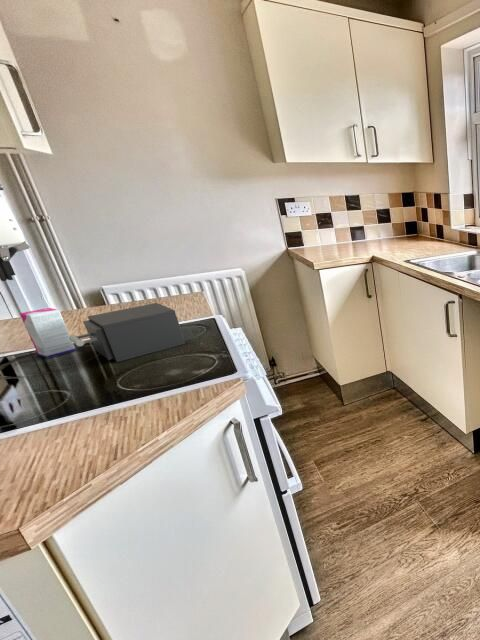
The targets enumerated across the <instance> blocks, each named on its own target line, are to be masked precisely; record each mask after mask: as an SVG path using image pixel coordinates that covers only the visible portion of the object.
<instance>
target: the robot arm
mask: <svg viewBox="0 0 480 640" xmlns="http://www.w3.org/2000/svg"><path fill="white" fill-rule="evenodd" d="M0 191H4V187H3V185H2V183H0ZM30 248H31V246H30V245H29V243H28V242H27V241H26V239H25V237H24V234H23V232H22V229H21V228H20V225H19V224H18V221H17V220H16V218H15V215H14V214H13V212H12V211H11V209H10V207H9V206H8V205H7V203H6V201H5V200H4V198H3V197H2V196H0V281H1V282H6V281H14V278H13V276H16V272H15V269H14V268H13V266H12V264H11V262H10V261H11V260H12V258H13V257H14V256H15V254H17V253H18V252H22V251H26V250H29V249H30Z"/></svg>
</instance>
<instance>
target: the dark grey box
mask: <svg viewBox="0 0 480 640" xmlns="http://www.w3.org/2000/svg"><path fill="white" fill-rule="evenodd" d="M83 325H84V328H85V329H86V332H87V333H85V334H80V335H75V334H73V335H70V337H69V339H70V340H71V341H72V342H73V344H74V345H75V346H77V347H83V346H84V345H85V344H88V343H91V344H92V346H93V348H94V350H95V351H96V352H98V353H99V354H100V355H101V356H102V357H104V358H105V359H106V360H108V361H110V360H113V359H114V355H113V353H112V350H111V348H110V345H109V343H108V340H107V338H106V335H105V333H104V330H103V328H102V327H99V326H98V325H96V324H94V323H93V322H91V321H90V320H89V319H87V320H84V321H83ZM87 337H89V339H85V340H82V339H84V338H87Z"/></svg>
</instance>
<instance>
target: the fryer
mask: <svg viewBox="0 0 480 640" xmlns="http://www.w3.org/2000/svg"><path fill="white" fill-rule="evenodd" d="M87 320H90V321H91V322H93V323H94V324H96V325H98V326H99V327H102V328H103V330H104V333H105V335H106V338H107V340H108V343H109V345H110V348H111V350H112V353H113V355H114V359H112V360H113V361H114V362H116V363H119V362H123V361H126V360H130V359H134V358H138V357H141V356H145V355H149V354H153V353H156V352H157V353H158V352H160V351H164V350H167V349H172V348H175V347H179V346H182V345H186V340H185V337H184V334H183V332H182V328H181V325H180V322H179V319H178V315H177V313H176V310H175V309H173V308H171V307H168V306H166V305H163V304H161V303H158V302H154V303H149V304H148V303H147V304H143V305H138V306H133V307H128V308H123V309H119V310H114V311H108V312H102V313H98V314H92V315H88V316H87Z"/></svg>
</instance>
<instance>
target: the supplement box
mask: <svg viewBox="0 0 480 640" xmlns="http://www.w3.org/2000/svg"><path fill="white" fill-rule="evenodd" d="M19 315H20V317H21V321H22V322H23V324H24V326H25V329H26V331H27V333H28V335H29V338H30V341H31V342H32V345H33V347H34V349H35V351H36V354H37V356H40V357H44V358H46V359H50V358H53V357H57V356H60V355H64V354H68V353H72V352H75V351H76V347H75V343H73V342H72V341H71V340H70V339H69V337H70V336H71V334H70V332H69V329H68V328H67V326H66V323H65V321H64V318H63V316H62V313H61V310H60V309H56V308H52V307H46V308H40V309H36V310H29V311H24V312H20V313H19Z"/></svg>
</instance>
